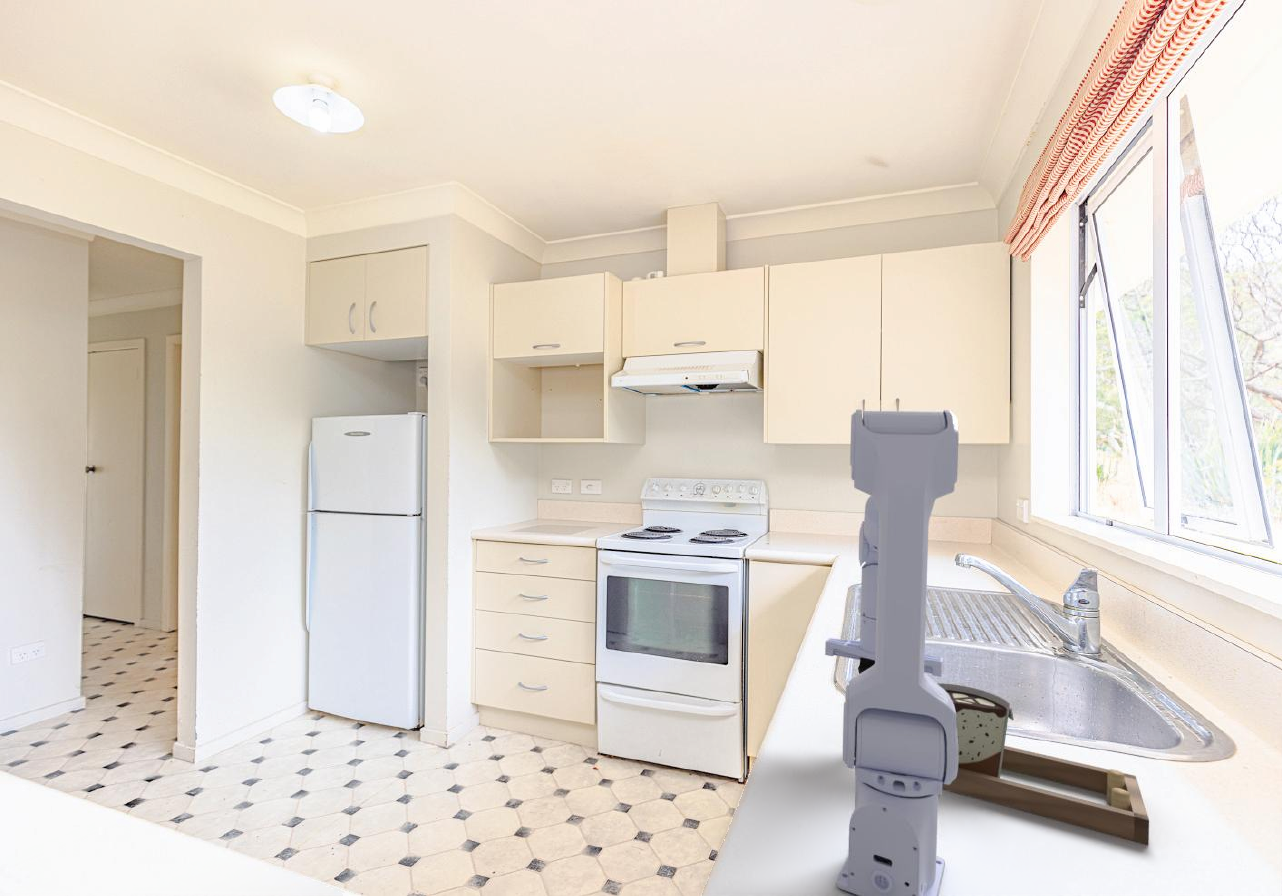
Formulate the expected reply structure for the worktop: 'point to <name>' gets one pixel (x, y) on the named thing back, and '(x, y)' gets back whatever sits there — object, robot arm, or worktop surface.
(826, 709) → the worktop surface
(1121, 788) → the rail frame
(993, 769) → the food container
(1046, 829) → the worktop surface
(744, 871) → the worktop surface
